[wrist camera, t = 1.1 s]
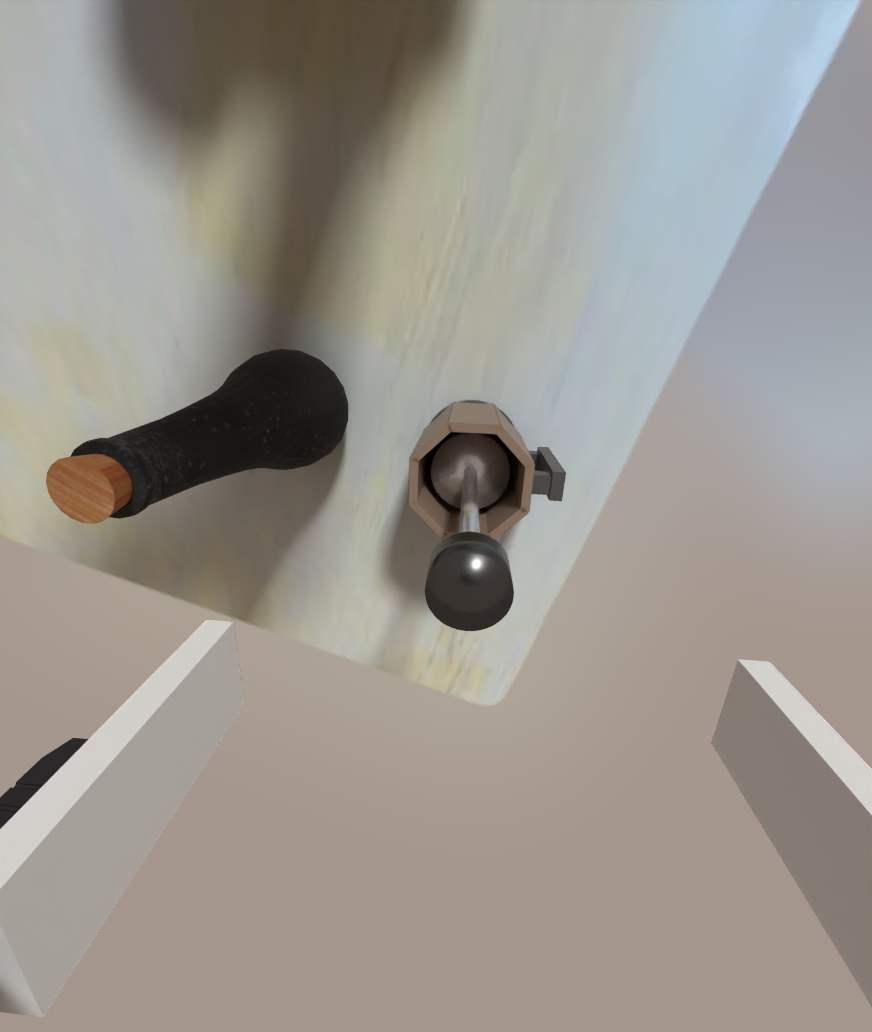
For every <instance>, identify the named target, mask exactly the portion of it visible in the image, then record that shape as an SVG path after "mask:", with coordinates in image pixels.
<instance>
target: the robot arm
mask: <svg viewBox="0 0 872 1032" xmlns="http://www.w3.org/2000/svg"><path fill="white" fill-rule="evenodd" d="M244 704H245V701H244V693H243V686H242V679H241V671H240V664H239V657H238V650H237V643H236V635H235V627H234V622H229V621H216V620H205V621H204V622H203V623H202V624H201V625H200V627H199V628H198V629H197V630H196V631H195V632H194V633H193V634H192V635H191V636H190V637H189V638H188V639H187V640H186V641H185V642H184V643H183V644H182V645H181V646H180V647H179V648H178V649H177V650H176V651H175V652H174V653H173V654H172V655H171V656H170V657H169V658H168V659H167V660H166V661H165V662H164V663H163V664H162V665H161V666H160V667H159V668H158V669H157V670H156V671H155V672H154V673H153V674H152V675H151V676H150V677H149V678H148V680H146V682H144V683H143V685H142V686H141V687H140V688H139V689H138V690H137V691H136V692H135V693H134V694H133V695H132V696H131V697H130V698H129V699H128V700H127V701H126V702H125V703H124V704H123V705H122V706H121V707H120V708H119V709H118V710H117V711H116V712H115V713H114V714H113V715H112V716H111V717H110V718H109V719H108V720H107V721H106V722H105V723H104V724H103V725H102V726H101V727H100V728H99V729H98V730H97V731H96V732H95V734H93V736H92V737H91V738H90V739H80V738H72V739H71V740H69V741H68V742H66V743H65V744H63V745H61V746H60V747H58V748H57V749H55V750H54V751H52V752H50V753H49V754H47V755H46V756H44V757H43V758H41V759H40V760H39V761H38V762H37V763H36V764H35V765H34V766H33V767H32V768H31V769H30V770H29V771H28V772H27V773H26V774H24V775H23V776H22V777H21V778H20V779H19V780H18V781H17V782H16V785H15V787H14V788H10V789H9V790H8V791H7V792H6V793H5V794H3V795H2V796H1V797H0V1012H5V1013H13V1014H20V1015H28V1016H37V1017H44V1016H45V1014H46V1013H47V1011H48V1009H49V1008H50V1006H51V1005H52V1003H53V1002H54V1000H55V998H56V997H57V995H58V994H59V992H60V991H61V989H62V988H63V986H64V985H65V983H66V981H67V980H68V978H69V977H70V975H71V974H72V972H73V970H74V969H75V967H76V966H77V964H78V962H79V961H80V959H81V958H82V956H83V955H84V953H85V952H86V950H87V949H88V947H89V946H90V944H91V942H92V941H93V939H94V938H95V936H96V935H97V933H98V931H99V930H100V928H101V927H102V925H103V924H104V922H105V920H106V919H107V917H108V916H109V914H110V913H111V911H112V910H113V908H114V906H115V905H116V903H117V902H118V900H119V899H120V897H121V896H122V894H123V892H124V891H125V889H126V888H127V886H128V885H129V883H130V882H131V880H132V878H133V877H134V875H135V874H136V872H137V871H138V869H139V867H140V866H141V864H142V863H143V861H144V860H145V858H146V856H147V855H148V853H149V852H150V850H151V849H152V847H153V846H154V844H155V842H156V841H157V839H158V838H159V836H160V835H161V833H162V832H163V830H164V829H165V827H166V825H167V824H168V822H169V821H170V819H171V818H172V816H173V815H174V813H175V811H176V810H177V808H178V807H179V805H180V804H181V802H182V800H183V799H184V797H185V796H186V794H187V793H188V791H189V790H190V788H191V786H192V785H193V783H194V782H195V780H196V779H197V777H198V776H199V774H200V772H201V771H202V769H203V768H204V766H205V765H206V763H207V762H208V760H209V758H210V757H211V755H212V754H213V752H214V750H215V749H216V747H217V746H218V744H219V743H220V741H221V740H222V738H223V737H224V735H225V733H226V732H227V730H228V729H229V727H230V726H231V724H232V723H233V721H234V719H235V718H236V716H237V715H238V713H239V712H240V710H241V709H242V707H243V705H244ZM711 743H712V744H713V746H714V748H715V750H716V751H717V753H718V755H719V756H720V758H721V760H722V761H723V763H724V765H725V766H726V768H727V770H728V771H729V773H730V774H731V776H732V778H733V779H734V781H735V782H736V784H737V786H738V787H739V789H740V791H741V792H742V794H743V796H744V797H745V799H746V801H747V802H748V804H749V806H750V807H751V809H752V810H753V812H754V814H755V815H756V817H757V819H758V820H759V822H760V824H761V825H762V827H763V828H764V830H765V832H766V834H767V835H768V837H769V839H770V840H771V842H772V843H773V845H774V847H775V848H776V850H777V852H778V853H779V855H780V857H781V858H782V860H783V862H784V863H785V865H786V866H787V868H788V870H789V871H790V873H791V875H792V876H793V878H794V880H795V881H796V883H797V884H798V886H799V888H800V889H801V891H802V893H803V894H804V896H805V898H806V899H807V901H808V903H809V904H810V906H811V908H812V909H813V911H814V912H815V914H816V916H817V917H818V919H819V921H820V922H821V924H822V926H823V927H824V929H825V931H826V932H827V934H828V935H829V937H830V939H831V940H832V942H833V943H834V945H835V947H836V949H837V950H838V952H839V954H840V955H841V957H842V958H843V960H844V962H845V963H846V965H847V967H848V968H849V970H850V971H851V973H852V975H853V977H854V978H855V980H856V981H857V983H858V985H859V986H860V988H861V990H862V991H863V993H864V995H865V996H866V998H867V1000H868V1001H869V1003H870V1004H871V1006H872V769H871V768H870V767H869V766H868V765H867V764H866V763H865V762H864V760H862V758H861V757H860V756H859V755H858V754H857V753H856V752H855V751H854V750H853V749H852V748H851V747H850V746H849V745H848V744H847V743H846V742H845V741H844V740H843V738H842V737H841V736H840V735H839V734H838V733H837V732H836V731H835V730H834V729H833V728H832V727H831V726H830V725H829V724H828V723H827V722H826V721H825V720H824V718H822V716H821V715H819V713H818V712H817V711H816V710H815V709H814V708H813V707H812V706H811V705H810V704H809V703H808V702H807V701H806V700H805V699H804V698H803V696H802V695H801V694H800V693H799V692H798V691H797V690H796V689H795V688H794V687H793V686H792V685H791V684H790V683H789V682H788V681H787V680H786V679H785V678H784V676H783V675H782V674H781V673H780V672H779V671H778V670H777V669H776V668H775V667H774V666H773V665H772V664H771V663H770V662H764V661H751V660H739V659H738V662H737V665H736V668H735V671H734V674H733V677H732V680H731V683H730V686H729V689H728V692H727V696H726V699H725V702H724V705H723V708H722V712H721V714H720V717H719V721H718V724H717V727H716V730H715V733H714V736H713V739H712V742H711Z"/></svg>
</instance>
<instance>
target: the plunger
mask: <svg viewBox="0 0 872 1032" xmlns="http://www.w3.org/2000/svg"><path fill="white" fill-rule="evenodd" d="M509 477H510V465H509V461H508V458H507V455H506V453H505V451H504V449H503V448H502V447H501V445H500V444H499V443H498V442H497V441H496V440H494V439H493V438H491V437H489V436H488V435H485V434H482V433H466V432H463V433H459V434H456V435H454V436H452V437H450V438H449V439H447V440H446V441H445V442H444V443H443V444H442V445H441V446H440V447H439V448H438V450H437V452H436V453H435V456H434V458H433V462H432V466H431V478H432V482H433V485H434V487H435V490H436V491H437V493H438V494H439V495H440V497H441V498H442V499H443V500H444V501H446V502H447V503H449V504H450V505H452V506H454V507H457V508H460V509H461V518H460V533H456V534H454V535H451V536H449V537H447V538H446V539H444V540H443V541H442V542H441V543H440V544H439V545H438V546H437V547H436V548H435V550H434V552H433V554H432V556H431V560H430V565H429V571H428V576H427V581H426V587H425V597H426V601H427V604H428V607H429V608H430V610H431V612H432V613H433V614H434V616H435V617H436V618H437V619H438V620H440V621H441V622H442V623H444V624H445V625H447V626H449V627H452V628H455V629H458V630H464V631H477V630H482V629H486V628H488V627H491V626H493V625H494V624H496V623H498V622H499V621H500V620H501V619H502V618H503V617H504V616H505V615H506V614H507V613H508V611H509V609H510V607H511V605H512V602H513V595H514V591H513V584H512V578H511V572H510V566H509V560H508V557H507V554H506V552H505V551H504V549H503V548H502V546H501V545H500V544H499V543H498V542H497V541H496V540H494V539H493V538H491V537H489V536H487V535H485V534H482V533H480V526H479V509H480V508H484V507H486V506H488V505H490V504H492V503H493V502H495V501H496V500H497V499H498V498H499V497H500V496H501V495H502V494H503V492H504V491H505V489H506V487H507V485H508V482H509Z"/></svg>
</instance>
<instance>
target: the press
mask: <svg viewBox="0 0 872 1032" xmlns="http://www.w3.org/2000/svg"><path fill="white" fill-rule="evenodd" d="M463 432H466V433H482V434H485V435H488V436H489V437H491V438H493V439H494V440H496V441H497V442H498V443H499V444H500V445H501V447H502V448H503V449H504V451H505V453H506V455H507V458H508V461H509V465H510V477H509V482H508V485H507V487H506V489H505V491H504V492H503V494H502V495H501V496H500V497H499V498H498V499H497V500H496V501H495V502H493V503H492V504H490V505H488V506H486V507H484V508H480V509H479V526H480V533H482V534H485V535H487V536H489V537H491V538H493V539H494V540H495V539H496V538H497V537H499V536H500V535H501V534H503V533H504V532H505V531H506V530H508V529H509V528H510V527H512V526H513V525H514V524H515V523H517V522H518V521H519V520H521V519H522V518H523V517H524V516H526V515H527V514H528V512H529V510H530V502H531V494H542V495H547V497H548V499H549V500H552V501H562V496H563V489H564V482H565V475H566V472H565V471H564V469H563V468H562V466H561V465H560V463H559V462H558V461H557V459H556V458H555V456H554V455H553V454H552V452H551V451H550V449H549V448H548V447H538V450H537V451H528V450H527V448H526V446H525V444H524V442H523V440H522V438H521V436H520V434H519V432H518V431H517V430H516V429H515V428H514V426H513V424H512V422H511V421H510V419H509V418H508V417H507V416H506V415H505V413H504V412H502V411H501V410H500V409H499V408H497V407H496V406H495V405H494V404H489V403H487V402H483V401H477V400H465V401H460V402H454V403H452V404H451V405H449V406H447V407H446V408H444V409H443V410H441V411H440V412H439V413H438V414H437V415H436V416H435V417H434V418H433V420H432V421H431V423H430V424H429V425H428V426H427V427H426V428H425V429H424V431H423V433H422V435H421V437H420V439H419V440H418V442H417V444H416V446H415V448H414V450H413V452H412V454H411V456H410V459H409V506H410V507H411V508H412V509H413V510H414V511H415V512H416V513H417V514H418V515H419V517H420V518H421V519H422V520H423V521H424V522H425V523H426V524H427V525H428V526H429V527H430V528H431V529H432V530H433V531H434V532H435V533H436V534H437V535H438V536H439V537H440V538H441V539H442V538H443V540H444V539H446V538H447V537H449V536H451V535H454V534H456V533H460V518H461V509H460V508H457V507H454V506H452V505H450V504H449V503H447V502H446V501H444V500H443V499H442V498H441V497H440V495H439V494H438V493H437V491H436V490H435V487H434V485H433V482H432V478H431V466H432V462H433V458H434V456H435V453H436V452H437V450H438V448H439V447H440V446H441V445H442V444H443V443H444V442H445V441H446V440H447V439H449V438H450V437H452V436H454V435H456V434H459V433H463ZM534 470H535V471H534Z"/></svg>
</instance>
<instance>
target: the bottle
mask: <svg viewBox="0 0 872 1032" xmlns="http://www.w3.org/2000/svg"><path fill="white" fill-rule="evenodd" d="M347 422H348V401H347V398H346V394H345V391H344V387H343V386H342V384H341V383H340V381H339V379H338V378H337V376H336V375H335V373H334V372H333V371H332V370H331V369H330V368H329V367H327V366H326V365H325V364H324V363H323V362H322V361H321V360H319V359H317V358H315V357H312V356H310V355H308V354H306V353H303V352H301V351H295V350H286V349H279V350H274V351H270V352H266V353H262V354H258V355H255V356H253V357H252V358H250V359H249V360H247V361H246V362H245V363H243V364H242V365H240V366H239V367H238V368H236V369H235V370H234V371H233V372H232V373H231V374H230V375H229V376H228V378H227V379H226V381H225V382H224V384H223V385H222V386H221V387H220V388H219V389H218V390H217V391H215V392H214V393H213V394H211V395H209V396H207V397H205V398H203V399H201V400H199V401H197V402H195V403H193V404H191V405H190V406H188V407H186V408H183V409H181V410H179V411H177V412H175V413H173V414H170V415H168V416H166V417H164V418H162V419H159V420H156V421H154V422H151V423H148V424H145V425H143V426H140V427H137V428H134V429H132V430H129V431H126V432H123V433H121V434H118V435H115V436H112V437H110V438H98V439H94V440H90V441H87V442H85V443H83V444H81V445H80V446H79V447H77V448H76V449H75V450H74V451H73V453H72V455H71V456H70V457H67V458H62V459H59V460H57V461H56V462H54V463H53V464H52V465H51V467H50V468H49V470H48V472H47V479H46V484H47V488H48V492H49V494H50V496H51V498H52V500H53V502H54V503H55V504H56V505H57V506H58V508H59V509H60V510H61V511H62V512H63V513H65V514H66V515H68V516H69V517H71V518H72V519H75V520H77V521H80V522H83V523H91V524H93V523H98V522H102V521H103V520H105V519H106V518H108V517H112V518H125V517H130V516H133V515H136V514H138V513H139V512H141V511H143V510H144V509H145V508H146V507H148V505H151V504H153V503H155V502H158V501H160V500H163V499H165V498H168V497H170V496H172V495H175V494H177V493H180V492H182V491H184V490H187V489H189V488H192V487H194V486H196V485H199V484H202V483H205V482H208V481H211V480H214V479H217V478H220V477H223V476H227V475H230V474H234V473H237V472H241V471H244V470H248V469H255V468H270V469H279V470H287V469H294V468H299V467H303V466H308V465H311V464H313V463H315V462H316V461H318V460H320V459H321V458H323V457H324V456H326V455H328V454H329V453H331V452H332V451H333V449H334V448H335V447H336V446H337V444H338V443H339V442H340V441H341V439H342V436H343V433H344V431H345V428H346V425H347Z"/></svg>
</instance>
